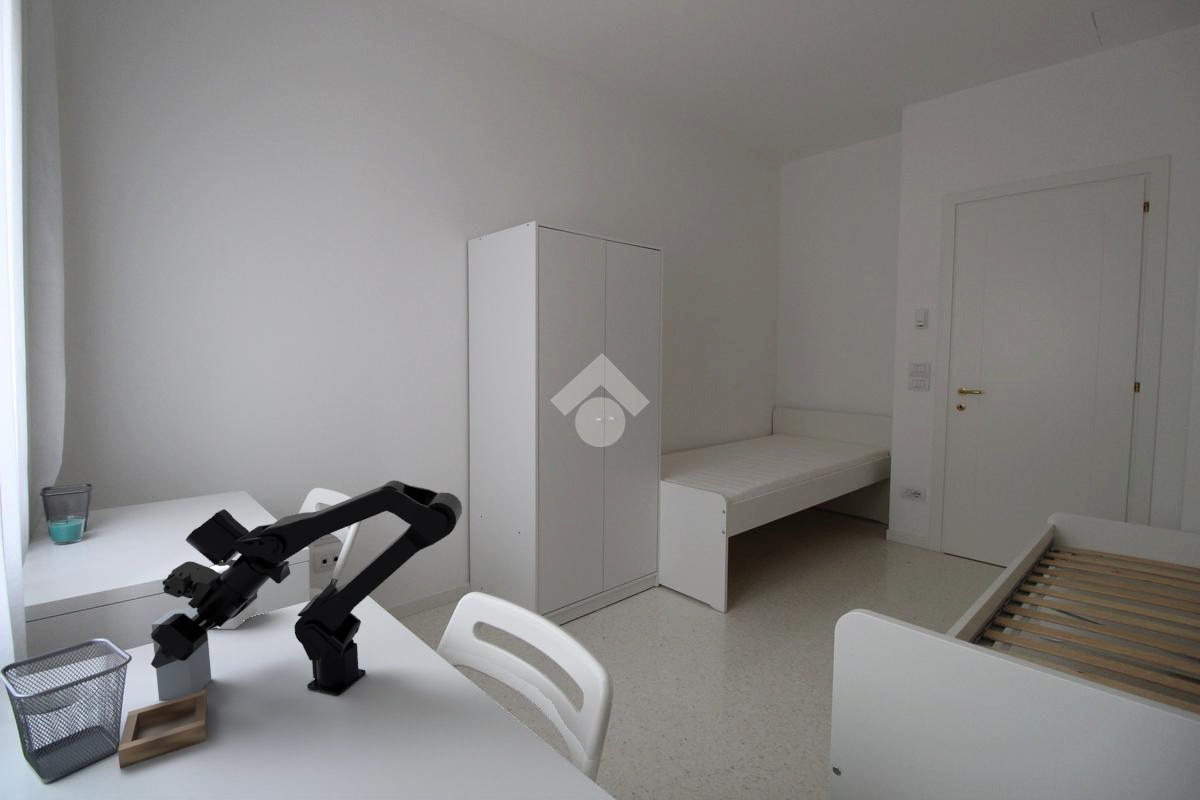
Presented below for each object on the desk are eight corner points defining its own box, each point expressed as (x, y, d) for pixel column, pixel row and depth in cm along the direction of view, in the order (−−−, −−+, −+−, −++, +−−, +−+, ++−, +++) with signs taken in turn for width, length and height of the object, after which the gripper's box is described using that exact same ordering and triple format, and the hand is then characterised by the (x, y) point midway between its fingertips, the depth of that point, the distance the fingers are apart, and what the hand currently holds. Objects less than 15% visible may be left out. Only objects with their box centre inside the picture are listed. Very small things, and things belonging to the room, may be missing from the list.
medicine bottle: (224, 612, 118) (219, 556, 116) (258, 612, 118) (253, 556, 116) (199, 629, 111) (194, 570, 109) (234, 630, 110) (230, 571, 109)
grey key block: (211, 679, 94) (205, 607, 93) (192, 698, 90) (185, 623, 88) (180, 680, 94) (173, 609, 93) (159, 699, 89) (151, 624, 88)
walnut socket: (208, 704, 88) (206, 689, 88) (206, 740, 80) (204, 723, 80) (130, 727, 83) (128, 711, 82) (119, 768, 75) (117, 750, 75)
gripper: (234, 528, 99) (173, 591, 99) (159, 572, 80) (84, 649, 81) (284, 570, 100) (223, 631, 101) (221, 623, 82) (147, 698, 82)
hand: (174, 649), depth 91 cm, fingers open, 9 cm apart
